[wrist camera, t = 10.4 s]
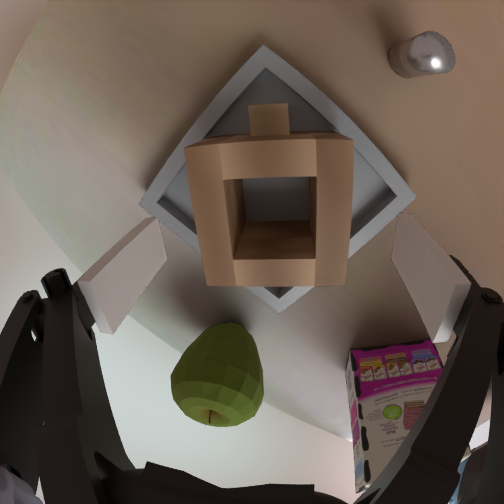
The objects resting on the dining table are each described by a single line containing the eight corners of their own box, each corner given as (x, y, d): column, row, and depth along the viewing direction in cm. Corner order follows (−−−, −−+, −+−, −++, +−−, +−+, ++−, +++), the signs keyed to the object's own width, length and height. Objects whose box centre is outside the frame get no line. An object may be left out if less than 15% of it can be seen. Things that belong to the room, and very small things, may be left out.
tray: (407, 189, 20) (416, 197, 18) (280, 299, 27) (279, 313, 25) (265, 50, 16) (263, 44, 14) (149, 196, 23) (138, 204, 21)
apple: (211, 285, 27) (173, 383, 17) (286, 322, 28) (280, 422, 18) (183, 335, 31) (150, 418, 21) (247, 364, 32) (232, 449, 22)
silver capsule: (425, 65, 14) (462, 59, 10) (406, 84, 16) (440, 81, 11) (401, 39, 14) (433, 23, 9) (381, 57, 15) (409, 44, 10)
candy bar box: (344, 373, 31) (352, 495, 17) (348, 348, 29) (363, 485, 15) (422, 363, 30) (451, 471, 15) (434, 337, 27) (474, 454, 13)
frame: (333, 104, 17) (352, 102, 12) (333, 242, 22) (344, 285, 17) (208, 110, 18) (179, 112, 13) (224, 244, 24) (206, 285, 18)
